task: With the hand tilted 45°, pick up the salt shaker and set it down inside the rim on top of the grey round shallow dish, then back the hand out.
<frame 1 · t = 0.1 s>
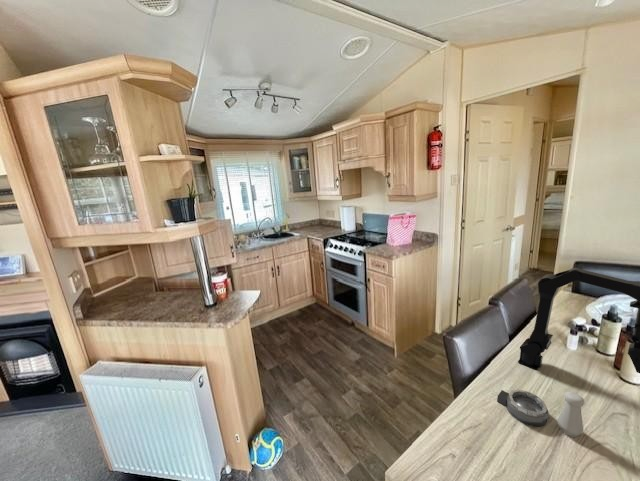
grey round shallow dish: (525, 412, 89), on the table
salt shaker: (568, 431, 82), on the table
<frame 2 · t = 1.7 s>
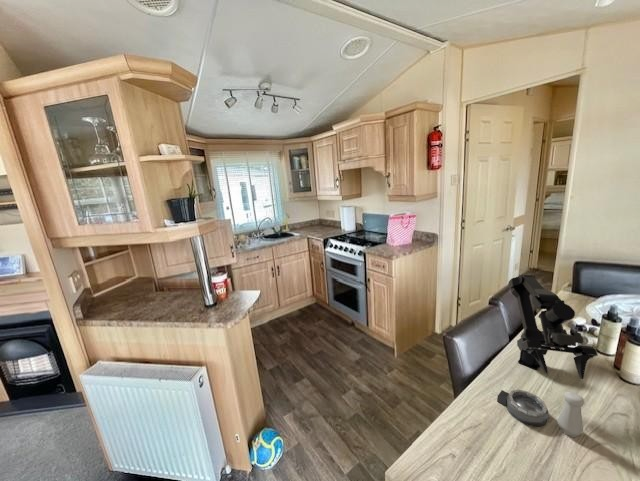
hand: (563, 376, 86), 13 cm above the table, tool tilted 45°, fingers open, 9 cm apart
nothing on the table moved.
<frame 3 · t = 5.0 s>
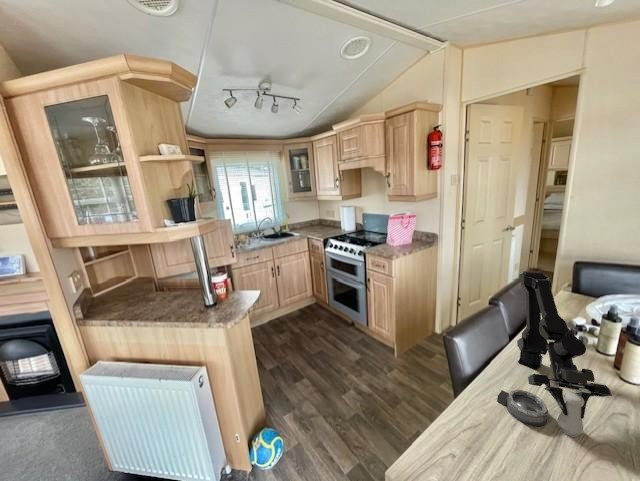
hand: (574, 417, 79), 7 cm above the table, tool tilted 45°, fingers closed on salt shaker, 3 cm apart
salt shaker: (568, 431, 82), on the table, touching gripper
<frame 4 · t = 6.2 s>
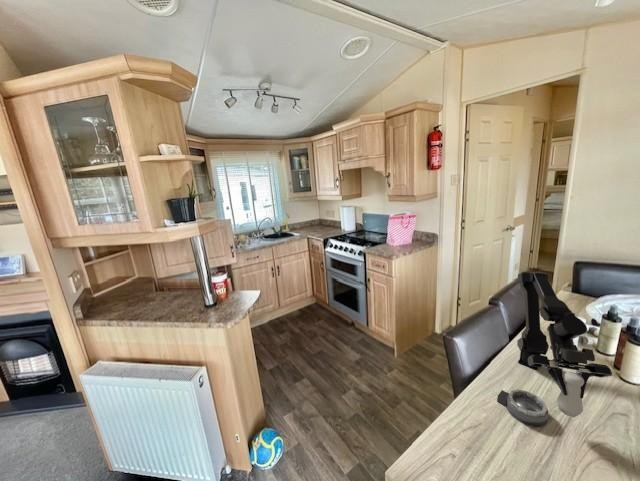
hand: (573, 396, 79), 13 cm above the table, tool tilted 45°, fingers closed on salt shaker, 3 cm apart
salt shaker: (568, 412, 81), point 6 cm above the table, touching gripper
when the fingers open (11 cm above the table, at t = 7.9 s): salt shaker stays where it is, resting on grey round shallow dish.
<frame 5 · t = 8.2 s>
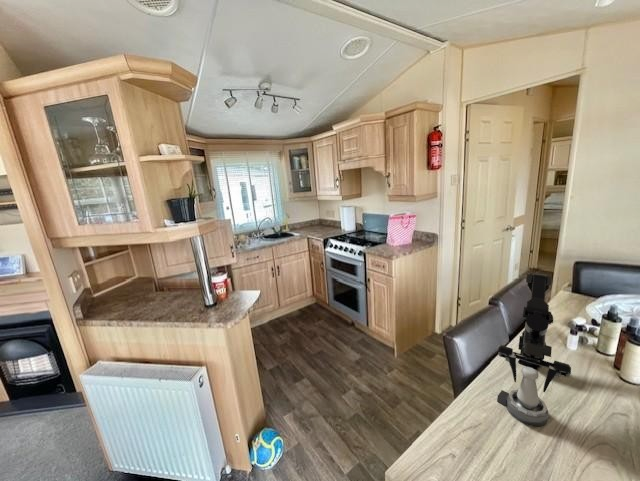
hand: (529, 386, 86), 11 cm above the table, tool tilted 45°, fingers open, 7 cm apart
salt shaker: (527, 404, 89), point 3 cm above the table, touching grey round shallow dish
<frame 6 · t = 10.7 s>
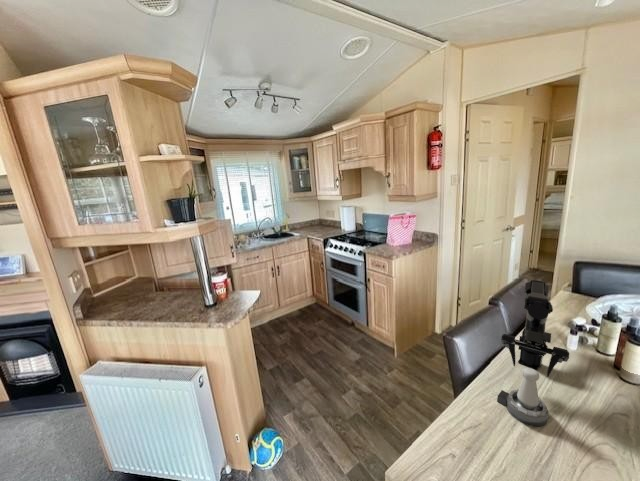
hand: (530, 371, 93), 11 cm above the table, tool tilted 45°, fingers open, 9 cm apart
nothing on the table moved.
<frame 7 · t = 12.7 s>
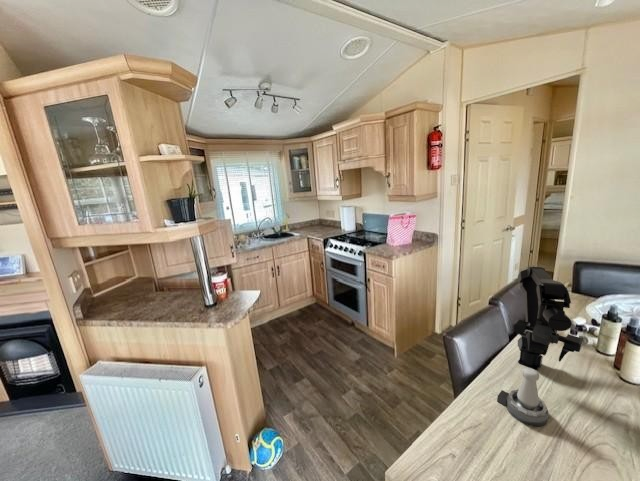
hand: (543, 355, 97), 13 cm above the table, tool pointing down, fingers open, 9 cm apart
nothing on the table moved.
at the end: salt shaker 0.2 cm off-centre on the grey round shallow dish, point 2.8 cm above the grey round shallow dish's base; salt shaker tilted 0°; the gripper is holding nothing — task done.
